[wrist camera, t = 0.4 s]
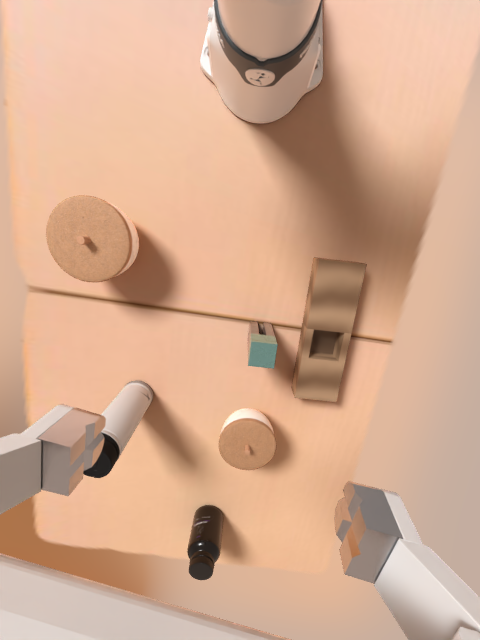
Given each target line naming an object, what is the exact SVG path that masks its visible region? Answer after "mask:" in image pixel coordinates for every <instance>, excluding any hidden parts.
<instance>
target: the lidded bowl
mask: <svg viewBox="0 0 480 640" xmlns="http://www.w3.org/2000/svg"><path fill="white" fill-rule="evenodd" d="M46 237H47V243H48V247H49V250H50V252H51V255H52V256H53V258H54V260H55V261H56V262H57V264H58V265H59V266H60V267H61V268H62V269H63V270H64V271H65V272H66V273H68V274H69V275H71V276H73V277H74V278H76V279H79V280H82V281H86V282H102V281H106V280H109V279H111V278H113V277H115V276H118V275H120V274H121V273H123V272H124V271H126V270H127V269H128V268H129V267H130V266H131V265H132V264H133V262H134V261H135V259H136V257H137V254H138V250H139V238H138V233H137V230H136V228H135V226H134V224H133V222H132V221H131V219H130V218H129V217H128V216H127V215H126V214H125V213H124V212H123V211H122V210H120V209H119V208H117V207H116V206H114V205H112V204H110V203H108V202H106V201H104V200H102V199H99V198H96V197H92V196H86V195H79V196H73V197H70V198H67V199H66V200H64V201H62V202H61V203H59V204H58V205H57V206H56V207H55V209H54V210H53V211H52V213H51V215H50V217H49V220H48V223H47V229H46Z"/></svg>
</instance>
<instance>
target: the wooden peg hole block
mask: <svg viewBox="0 0 480 640" xmlns="http://www.w3.org/2000/svg"><path fill="white" fill-rule="evenodd" d="M366 265H367V264H363V263H358V262H349V261H340V260H331V259H322V258H314V260H313V265H312V271H311V277H310V283H309V289H308V294H307V300H306V306H305V312H304V318H303V323H302V329H301V335H300V341H299V347H298V352H297V358H296V364H295V370H294V376H293V381H292V387H291V388H292V391H293V394H294V397H295V398H302V399H312V400H321V401H330V402H337V397H338V393H339V388H340V383H341V379H342V374H343V370H344V365H345V361H346V356H347V352H348V347H349V343H350V338H351V334H352V329H353V324H354V320H355V315H356V311H357V306H358V302H359V297H360V293H361V288H362V284H363V279H364V274H365V270H366Z"/></svg>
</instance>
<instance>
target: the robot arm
mask: <svg viewBox="0 0 480 640" xmlns="http://www.w3.org/2000/svg"><path fill="white" fill-rule="evenodd" d="M208 21H209V24H208V28H207V32H206V37H205V41H204V45H203V50H202V54H201V59H200V65H201V69H202V71H203V73H204V74H205V75H206V76H207V77H208V78H209V79H210V80H211V81H212V82H213V83H214V84H215V85H216V87H217V89H218V91H219V94H220V96H221V98H222V100H223V101H224V103H225V104H226V106H227V107H228V108H229V109H230V110H231V111H232V112H233V113H234V114H235V115H236V116H238V117H239V118H241V119H243V120H246V121H248V122H252V123H269V122H273V121H275V120H278V119H280V118H282V117H283V116H285V115H286V114H287V113H288V112H290V111H291V110H292V109H293V108H294V106H295V105H296V104H297V103H298V101H299V100H300V99H301V97H302V96H303V95H304V94H305V93H307V92H309V91H311V90H312V89H314V88H315V87H317V86H318V85H319V84H320V82H321V80H322V76H323V27H322V0H214V2H213V7H209V11H208ZM208 54H209V56H208ZM315 67H317V69H315ZM105 424H106V418H105V417H104V416H103V415H99V414H96V413H92V412H89V411H86V410H82V409H79V408H74V407H71V406H67V405H64V404H61V405H57V406H56V407H55V408H53V409H52V410H51V411H49V412H48V413H47V414H46V415H44V416H43V417H42V418H40V419H39V420H38V421H37V422H35V423H34V424H33V425H31V426H30V427H29V428H28V429H26V430H25V431H24V432H23V433H21V434H16V433H15V434H11V435H8V436H5V437H2V438H0V514H2V513H4V512H5V511H7V510H9V509H11V508H12V507H14V506H16V505H18V504H19V503H21V502H23V501H24V500H26V499H28V498H30V497H32V496H33V495H35V494H37V493H39V492H40V491H41V490H45V491H49V492H53V493H57V494H61V495H66V496H69V495H70V494H71V493H72V491H73V490H74V489H75V488H76V486H77V485H78V484H79V483H80V481H81V480H82V479H83V471H84V470H87V469H89V468H91V467H92V466H93V465H94V463H95V462H96V461H97V459H98V457H99V455H100V453H101V451H102V448H103V445H104V436H103V434H102V432H101V431H102V430H103V429H104V427H105ZM343 492H344V496H345V497H344V498H342V499H341V500H339V501H338V504H337V506H336V510H335V518H334V520H335V530H336V535H337V536H338V537H339V539H340V540H341V541H342V545H341V547H340V555H341V560H342V565H343V569H344V574H345V575H348V576H352V577H355V578H358V579H361V580H364V581H368V582H371V583H374V586H375V588H376V589H377V591H378V592H379V594H380V596H381V597H382V599H383V600H384V602H385V603H386V605H387V607H388V608H389V610H390V611H391V613H392V615H393V616H394V618H395V619H396V621H397V622H398V624H399V626H400V627H401V629H402V630H403V632H404V633H405V635H406V636H407V638H408V640H480V598H479V597H478V596H477V595H476V594H475V592H474V591H473V590H472V589H470V587H469V586H468V585H466V583H464V582H463V580H462V579H461V578H460V577H459V576H458V575H457V574H456V573H455V572H453V570H452V569H451V568H450V567H449V566H448V565H447V564H446V563H445V562H444V561H443V560H442V559H441V558H440V557H439V556H438V555H437V554H436V553H435V552H434V551H433V550H432V549H431V548H430V547H429V546H425V545H423V543H422V541H421V539H420V537H419V535H418V533H417V531H416V528H415V526H414V524H413V522H412V520H411V518H410V516H409V514H408V512H407V510H406V508H405V505H404V503H403V501H402V500H401V497H400V496H399V495H398V494H397V493H395V492H391V491H387V490H383V489H377V488H373V487H370V486H366V485H362V484H358V483H354V482H350V481H348V482H347V483H346V485H345V487H344V489H343ZM0 640H290V639H287V638H283V637H281V636H277V635H274V634H270V633H267V632H263V631H260V630H257V629H253V628H250V627H247V626H243V625H240V624H236V623H233V622H230V621H226V620H223V619H220V618H216V617H213V616H209V615H206V614H203V613H199V612H195V611H193V610H189V609H186V608H182V607H179V606H175V605H172V604H169V603H166V602H162V601H159V600H155V599H152V598H149V597H145V596H142V595H139V594H135V593H132V592H129V591H125V590H122V589H119V588H115V587H111V586H109V585H105V584H102V583H99V582H95V581H92V580H88V579H85V578H82V577H78V576H75V575H71V574H68V573H65V572H61V571H58V570H55V569H51V568H48V567H45V566H41V565H38V564H35V563H31V562H28V561H24V560H21V559H18V558H14V557H11V556H8V555H4V554H1V553H0Z"/></svg>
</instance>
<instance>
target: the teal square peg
mask: <svg viewBox="0 0 480 640" xmlns="http://www.w3.org/2000/svg"><path fill="white" fill-rule="evenodd" d="M277 345H278V344H277V341H276V338H275V335H274V331H273V328H272V325H271V323H266V322H264V323H263V330H262V335H261V334H259V329H258V322H257V321H250V325H249V334H248V366H255V367H265V368H274V364H275V358H276V351H277Z"/></svg>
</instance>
